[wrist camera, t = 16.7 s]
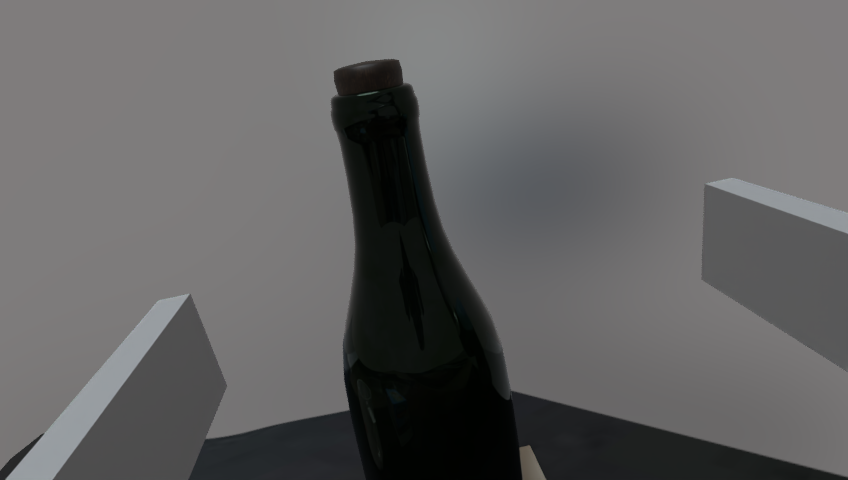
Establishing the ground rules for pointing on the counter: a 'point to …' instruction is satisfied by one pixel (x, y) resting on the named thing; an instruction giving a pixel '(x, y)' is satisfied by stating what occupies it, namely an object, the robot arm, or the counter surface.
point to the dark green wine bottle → (413, 305)
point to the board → (530, 465)
